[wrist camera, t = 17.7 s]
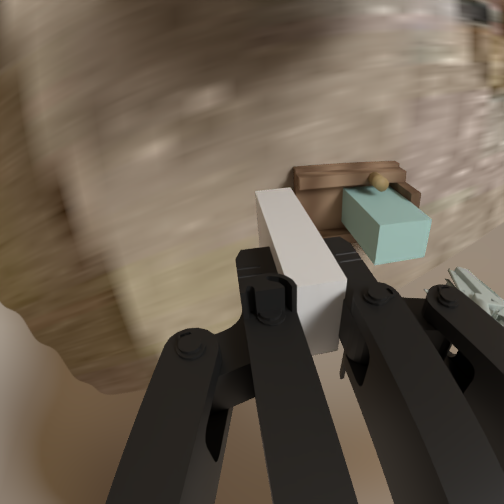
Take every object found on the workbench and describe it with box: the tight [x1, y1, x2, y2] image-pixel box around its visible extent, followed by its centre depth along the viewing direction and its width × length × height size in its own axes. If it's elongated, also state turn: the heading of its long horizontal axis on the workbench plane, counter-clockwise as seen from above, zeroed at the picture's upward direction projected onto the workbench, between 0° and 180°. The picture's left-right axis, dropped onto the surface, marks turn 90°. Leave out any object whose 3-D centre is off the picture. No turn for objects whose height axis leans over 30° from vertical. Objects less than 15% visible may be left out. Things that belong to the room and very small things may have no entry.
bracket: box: [424, 267, 504, 327], centre depth 46 cm, size 28×7×20 cm, turn 75°
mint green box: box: [341, 186, 432, 265], centre depth 38 cm, size 7×5×11 cm
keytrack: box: [293, 161, 421, 243], centre depth 40 cm, size 15×11×7 cm
